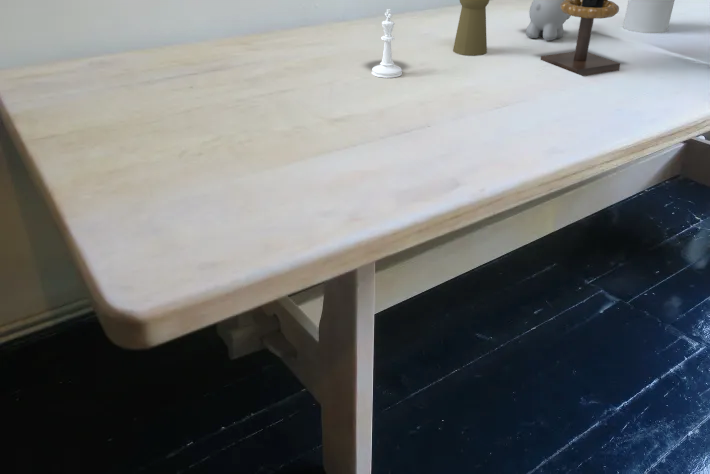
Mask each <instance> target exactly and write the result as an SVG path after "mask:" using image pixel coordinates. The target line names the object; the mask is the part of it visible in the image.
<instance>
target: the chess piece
mask: <svg viewBox="0 0 710 474" xmlns="http://www.w3.org/2000/svg"><path fill="white" fill-rule="evenodd" d="M384 16H385V17H386V19H385V20H382V21H381V26H382V29H383V33H384V35H382V36H381V37H380V39H381V40H382V41H384V43H383V44H384V45H383V53H382V59H381V62H379V64H377V65H374V66H373V67H372V68H371V75H372V76H374V77H377V78H382V79H391V78H397V77H400V76H402V75H403V72H402V71H403V70H402V67H400V66H398V65H396V64H395V62H394V61H393V54H392V53H393V52H392V41H394V40H395V36H393V35H392V33H393V31H394V30H393V29H394V28H395V25H396V22H395V21H393V20H391V19H392V18H393V13H391V9H390V8H386V12H384Z"/></svg>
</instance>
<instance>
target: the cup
mask: <svg viewBox="0 0 710 474" xmlns="http://www.w3.org/2000/svg"><path fill="white" fill-rule="evenodd" d="M674 5H675V0H627V5H626V10H625V15H624V20H623V24H622V28H623V29H624V30H626V31H629V32H633V33H640V34H650V35H651V34H654V35H655V34H663V33H664V34H665V33H667V32H668V30H669V25H670V21H671V17H672V13H673V9H674Z"/></svg>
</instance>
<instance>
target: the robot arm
mask: <svg viewBox="0 0 710 474" xmlns="http://www.w3.org/2000/svg"><path fill="white" fill-rule="evenodd" d="M603 2H604V0H583V2H582V7H590V8H603Z"/></svg>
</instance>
